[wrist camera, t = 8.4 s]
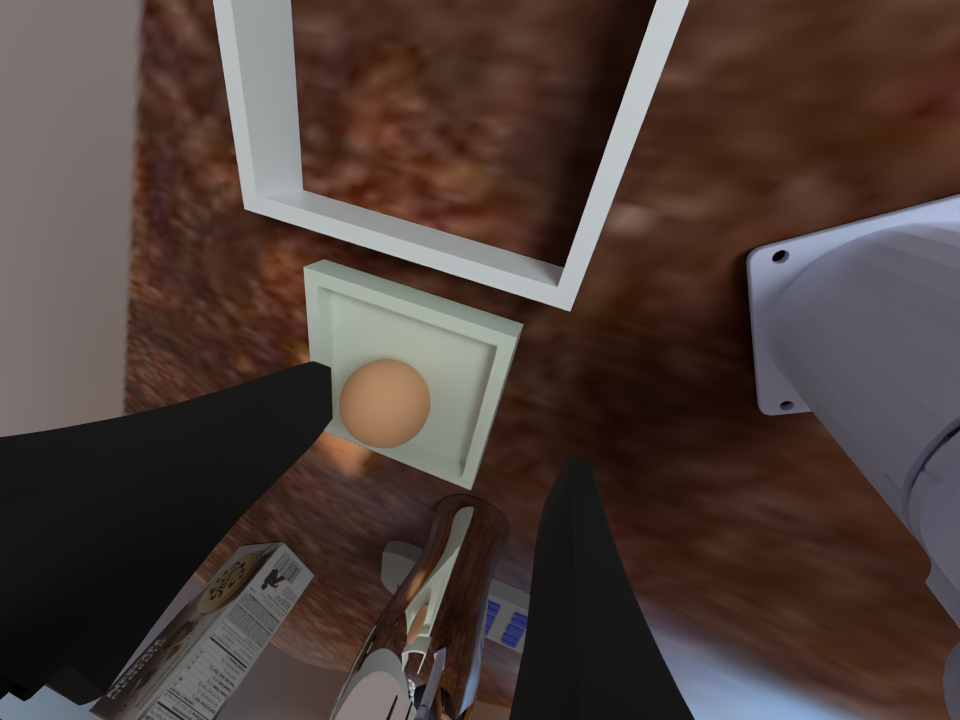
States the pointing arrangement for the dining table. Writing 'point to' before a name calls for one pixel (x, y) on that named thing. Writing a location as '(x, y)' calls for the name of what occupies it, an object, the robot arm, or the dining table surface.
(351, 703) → the beer glass
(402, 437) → the ball
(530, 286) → the white bent bar
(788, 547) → the dining table surface
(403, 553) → the remote control
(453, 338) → the tray
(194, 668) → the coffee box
